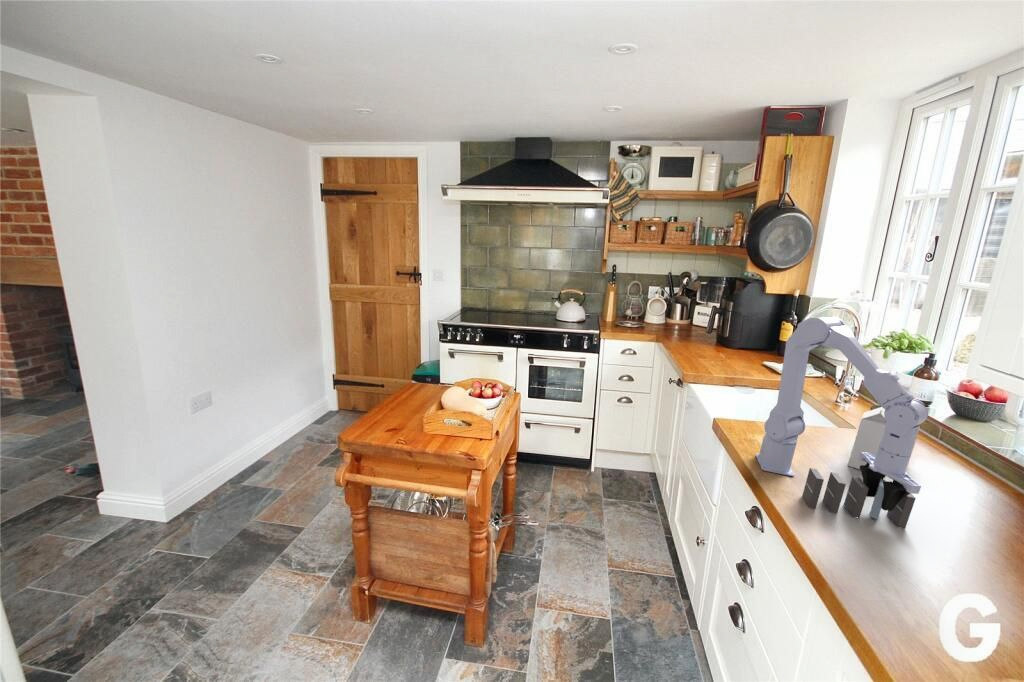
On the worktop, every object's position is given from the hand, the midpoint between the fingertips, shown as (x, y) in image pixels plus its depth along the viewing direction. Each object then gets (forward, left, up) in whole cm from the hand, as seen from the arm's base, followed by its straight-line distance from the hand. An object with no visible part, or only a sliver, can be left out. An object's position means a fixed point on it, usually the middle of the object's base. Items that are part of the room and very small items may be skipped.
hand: (877, 502), depth 104 cm
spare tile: (0, 0, -3) cm, 3 cm away
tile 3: (0, -5, -4) cm, 6 cm away
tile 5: (0, +4, -4) cm, 6 cm away
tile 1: (0, -14, -4) cm, 14 cm away
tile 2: (0, -9, -4) cm, 10 cm away
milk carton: (-28, +8, -4) cm, 30 cm away
